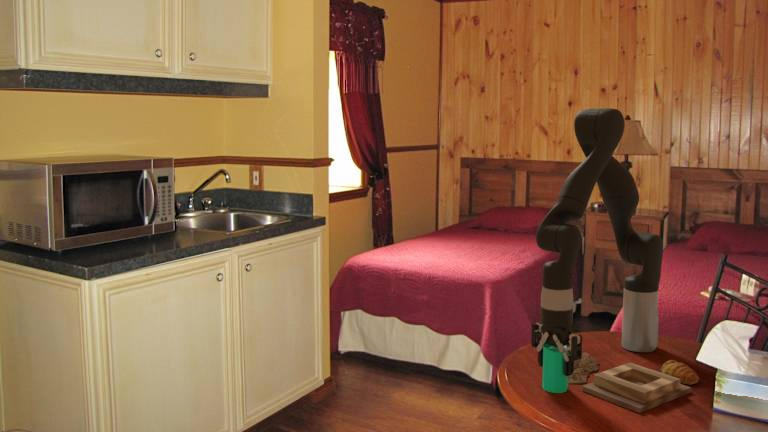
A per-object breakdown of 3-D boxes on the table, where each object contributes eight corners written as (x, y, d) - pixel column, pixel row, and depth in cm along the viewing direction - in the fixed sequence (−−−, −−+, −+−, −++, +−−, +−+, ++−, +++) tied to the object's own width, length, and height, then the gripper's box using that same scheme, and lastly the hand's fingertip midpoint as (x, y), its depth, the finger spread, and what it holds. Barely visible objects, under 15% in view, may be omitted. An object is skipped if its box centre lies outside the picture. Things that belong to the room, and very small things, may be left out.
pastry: (706, 384, 172) (706, 369, 171) (685, 388, 169) (685, 373, 169) (677, 371, 180) (678, 357, 180) (657, 375, 178) (657, 361, 177)
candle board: (632, 372, 179) (633, 358, 178) (690, 392, 166) (691, 377, 165) (582, 390, 168) (582, 376, 167) (639, 413, 155) (640, 397, 154)
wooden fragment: (581, 389, 169) (581, 385, 169) (538, 381, 175) (538, 377, 175) (610, 358, 191) (610, 354, 190) (570, 351, 196) (571, 348, 196)
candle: (537, 388, 170) (538, 341, 168) (550, 381, 174) (552, 335, 172) (559, 395, 165) (560, 346, 164) (572, 388, 169) (573, 340, 168)
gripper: (591, 309, 163) (589, 375, 165) (544, 296, 174) (543, 359, 177) (570, 314, 159) (568, 383, 161) (523, 301, 170) (522, 365, 172)
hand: (555, 370), depth 169 cm, fingers open, 7 cm apart
